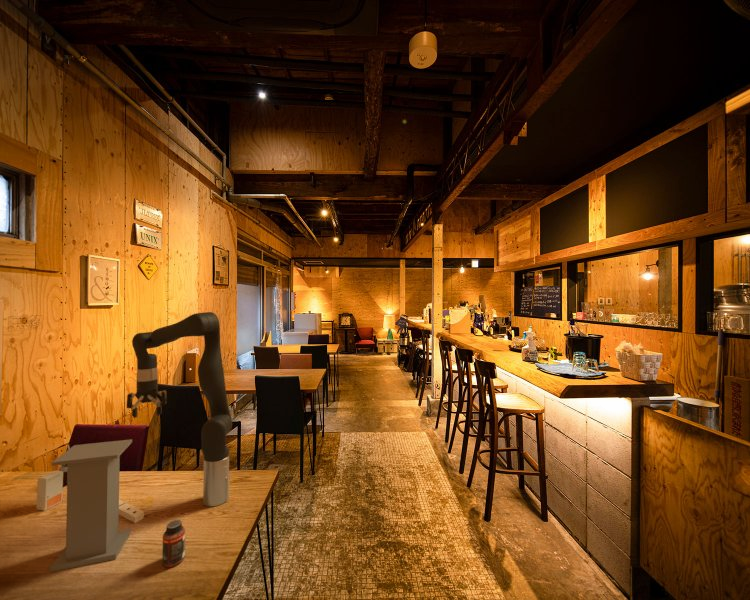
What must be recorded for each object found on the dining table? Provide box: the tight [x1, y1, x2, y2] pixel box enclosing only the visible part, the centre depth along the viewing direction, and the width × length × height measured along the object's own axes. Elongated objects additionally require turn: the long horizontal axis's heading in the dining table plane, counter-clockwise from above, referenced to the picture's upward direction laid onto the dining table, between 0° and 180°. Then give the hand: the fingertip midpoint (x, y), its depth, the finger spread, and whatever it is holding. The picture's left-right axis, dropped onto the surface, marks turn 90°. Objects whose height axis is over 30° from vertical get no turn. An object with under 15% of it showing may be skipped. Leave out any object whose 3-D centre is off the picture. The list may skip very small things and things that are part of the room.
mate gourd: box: [58, 444, 71, 488], centre depth 142 cm, size 8×8×15 cm
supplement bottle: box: [162, 519, 186, 568], centre depth 101 cm, size 6×6×11 cm
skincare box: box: [36, 470, 64, 511], centre depth 127 cm, size 6×4×12 cm
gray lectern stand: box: [49, 439, 133, 573], centre depth 104 cm, size 16×12×32 cm
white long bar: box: [119, 499, 145, 524], centre depth 124 cm, size 3×24×3 cm, turn 63°
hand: (147, 416), depth 142 cm, fingers open, 8 cm apart
